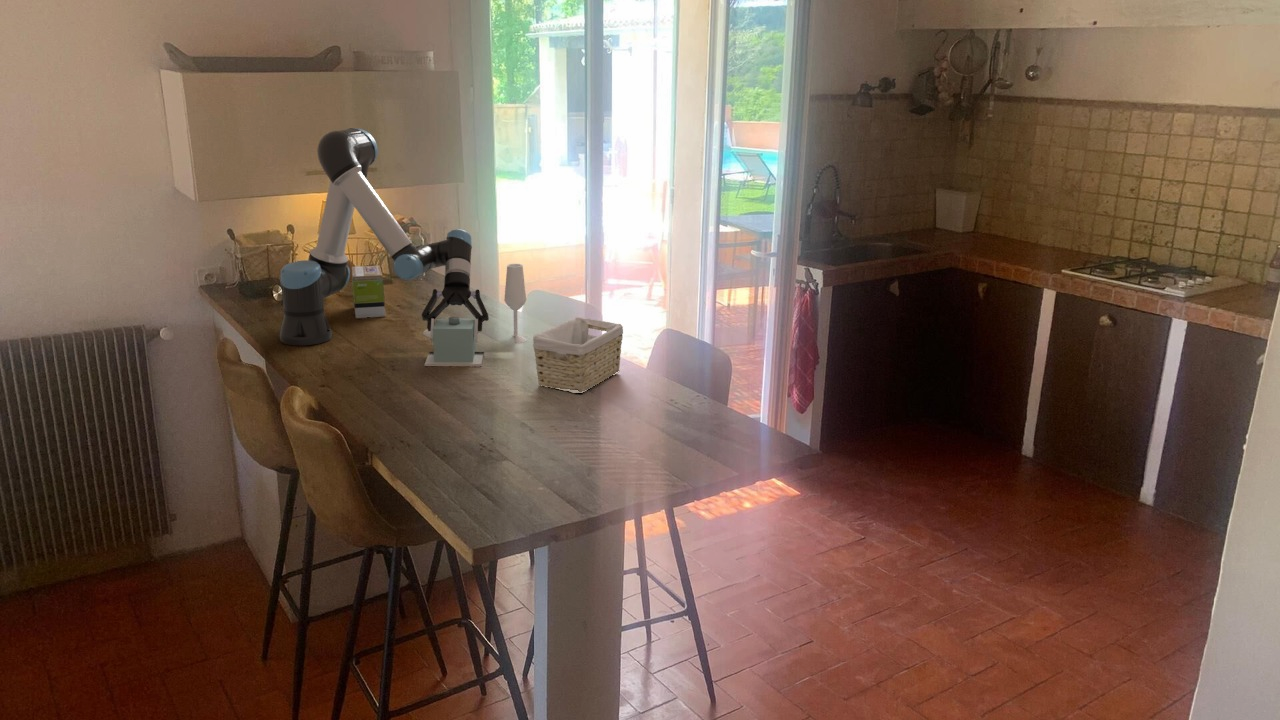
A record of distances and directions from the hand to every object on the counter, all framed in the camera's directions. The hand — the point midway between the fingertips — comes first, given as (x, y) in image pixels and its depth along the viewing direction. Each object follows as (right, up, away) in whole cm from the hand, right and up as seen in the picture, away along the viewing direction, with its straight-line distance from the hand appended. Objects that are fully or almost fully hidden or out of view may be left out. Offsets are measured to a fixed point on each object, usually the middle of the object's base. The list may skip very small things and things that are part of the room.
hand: (454, 340), depth 275 cm
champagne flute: (+15, 0, +23) cm, 28 cm away
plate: (-6, +2, +25) cm, 26 cm away
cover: (0, -5, +3) cm, 6 cm away
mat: (0, -5, +4) cm, 7 cm away
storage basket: (+37, -12, -11) cm, 40 cm away
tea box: (-39, +11, +50) cm, 64 cm away
